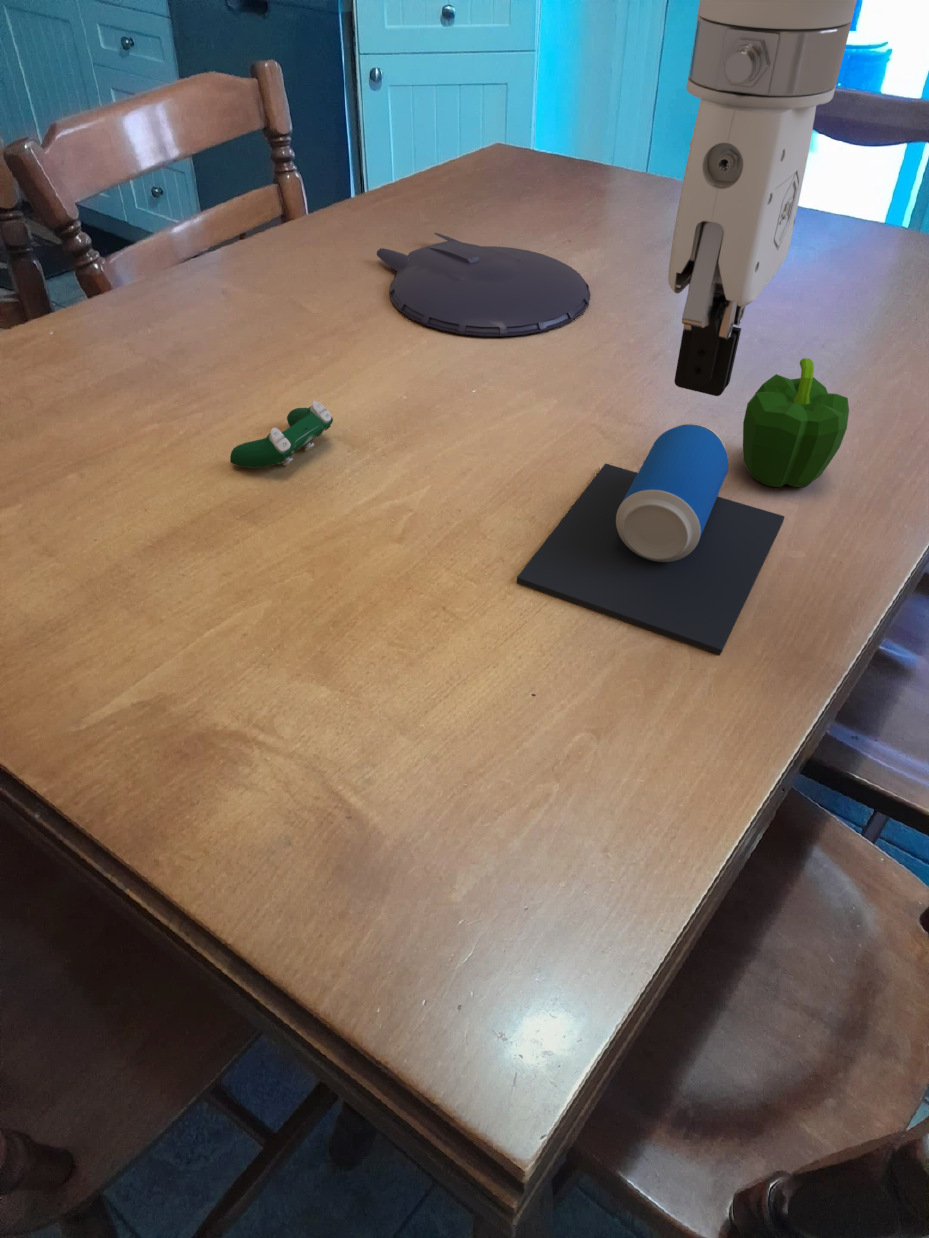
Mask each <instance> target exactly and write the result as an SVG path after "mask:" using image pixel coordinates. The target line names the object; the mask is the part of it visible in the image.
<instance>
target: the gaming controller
mask: <svg viewBox="0 0 929 1238" xmlns="http://www.w3.org/2000/svg"><path fill="white" fill-rule="evenodd" d="M333 421H334V418H333V416H332V414H331V412H330V411H329V410H328V409H326V407H325V406H324V405H323V404H322V403H321V402H319V401H318V400H313V401H312V402H311V406H309V407H297V408H293V409H291V410H290V411H289V412H288V414H287V416H286V422H287V424H288V426H289V427H288V428H286V429H285V430H283V431H281V430H280V429H279V428H278V427H272V428H271V430H270V431H269V433H268V434H267V436H266V437H264V438H261V439H256V440H252V441H251V440H250V441H246V442H244V443H240V444H238V445H236V446H235V447H234V448H233V449H232V450H231V452H230V459H229V461H230V463H231V464H232V465H235V466H238V467H242V468H246V469H247V468H248V469H257V468H258V469H260V468H267V467H272V466H278V465H279V464H282V463H283V464H282V465H283V466H287V465H288V464H290V463H291V462H293V460H294V458H293V457H292V456H293V454H294V453H295V452H296V451H298V450H299V449H301V450H302V449H303V451H306V452H307V451H309V450H310V449H311V448H313V447H314V446H315V442H314V439H315V438H317V437H319V436H321V435H322V434H323V433H324V431H327V430H329V429H330V428H331V425H332V424H333ZM290 457H291V458H290Z"/></svg>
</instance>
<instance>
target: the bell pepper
mask: <svg viewBox="0 0 929 1238" xmlns="http://www.w3.org/2000/svg"><path fill="white" fill-rule="evenodd" d="M799 366H800V369H801V372H800V377H798V378H788V377H785V376H782V375H780V374H777V373H776V374H774V375H773V376H771V377H770V378H769V379H767V380H766V381H765V382H764V383H762V384H761V385H760V387H759V388H758V389H757V391H756V392H755V393H754V395H753V396H752V397H751V398H750V400H749V401H748V402H747V404H746V409H745V413H744V416H743V417H744V418H743V423H742V426H743V427H742V455H743V463H744V466H745V468H746V471H747V472H748V473H749V474H750V476H751V477H752V479H753V480H755V481H757V482H759V483H761V484H763V485H765V486H767V487H775V488H781V487H782V486H785V485H788V486H790V487H793V488H806V487H808V486H809V485H810V484H812V482H815V480H817V479H818V478H820V476H822V474H823V473H824V471H826V469H827V467H828V466H829V465H830V463H831V462H832V460H833V459H834V457H835V455H836V454H837V452H838V451H839V449H840V447H841V445H842V443H843V440H844V437H845V434H846V431H847V429H848V422H849V416H850V415H849V414H850V407H849V398H848V397H846V396H844V395H841V394H838V393H829V392H828V390H827V387H826V386H825V385H823V384H822V383H821V382H820V381H819V380H818V379H816V377H814V372H815V366H814V361H813V360H812V359H810V358H806V357H803V358H801V359H800V361H799Z"/></svg>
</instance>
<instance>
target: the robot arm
mask: <svg viewBox="0 0 929 1238" xmlns="http://www.w3.org/2000/svg"><path fill="white" fill-rule="evenodd" d="M857 1H858V0H698V7H697V15H696V20H695V26H694V34H693V39H692V46H691V53H690V61H689V67H688V74H687V79H686V87H685V89H686V92H687V93H688V94H689V95H691V96H693V97H695V98H698V99H700V101H699V105H698V109H697V113H696V118H695V123H694V126H693V132H692V137H691V139H690V142H689V150H688V154H687V160H686V165H685V169H684V175H683V178H682V179H683V180H682V184H681V189H680V196H679V201H678V206H677V211H676V218H675V224H674V229H673V235H672V242H671V249H670V257H669V265H668V277H667V279H668V280H667V281H668V285H669V287H670V289H671V290H672V291H673V293H675V294H680V293H681V292H683V291H684V289H686V288H687V286H688V290H687V296H686V299H685V303H684V308H683V313H682V318H681V325H682V324H683V328H682V336H681V339H680V346H679V352H678V358H677V364H676V369H675V375H674V380H673V381H674V384H675V386H676V387H677V388H681V389H685V390H690V391H693V392H697V393H701V394H706V395H708V396H709V395H710V396H714V397H720V396H721V395H722V394H723V393H724V391H725V389H726V388H727V387H728V386H729V384H730V382H731V379H732V373H733V369H734V364H735V359H736V355H737V350H738V347H739V346H738V345H739V341H740V337H741V332H742V328H741V327H737V326H740V325H741V323H742V320H743V317H744V314H745V311H746V310H745V309H746V306H748V305H750V304H752V303H753V302H754V301H755V300H756V299H757V298H758V297H759V296H760V295H761V294H762V293H763V291H764V290H765V288H766V287H767V286H768V285H769V284H770V282H771V281H772V280H773V278H774V277H775V275H776V274H777V273H778V271H779V270H780V268H781V267H782V266H783V264H784V262H785V261H786V258H787V256H788V254H789V251H790V247H791V242H792V238H793V232H794V227H795V222H796V219H797V218H796V217H797V212H798V208H799V203H800V199H801V198H800V197H801V193H802V187H803V184H804V179H805V178H804V177H805V173H806V168H807V162H808V158H809V152H810V147H811V141H812V137H813V131H814V124H815V117H816V112H817V111H816V110H817V106H819V105H825V104H827V103H829V102H831V100H833V98H834V95H835V91H836V86H837V84H838V83H837V82H838V79H839V75H840V71H841V66H842V62H843V59H844V55H845V51H846V47H847V43H848V38H849V34H850V30H851V27H852V21H853V18H854V13H855V9H856V5H857Z"/></svg>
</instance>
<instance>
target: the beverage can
mask: <svg viewBox="0 0 929 1238" xmlns="http://www.w3.org/2000/svg"><path fill="white" fill-rule="evenodd" d="M728 471H729V456H728V452H727V449H726V446H725V443H724V441H723V439H722V438H721V436H719V435H718V433H716V431H714V430H713V429H711V428H710V427H707V426H706V425H702V424H700V423H699V424H698V423H682V424H678V425H676V426H674V427H672V428H670V429H668V430H666V431H665V432H663V433H662V434H661V435H659V436H658V437H657V438H656V440H655V441H654V443H653V445H652V446H651V448H650V450H649V452H648V454H647V456H646V457H645V459H644V461H643V463H642V465H641V466H640V468H639V470H638V472H637V473H638V474H637V476H636V477H635V479H634V481H633V483H632V485H631V487H630V488H629V490H628V492H627V494H626V496H625V498H624V499H623V501H622V503H621V505H620V507H619V509H618V511H617V515H616V527H617V530H618V533H619V536H620V537H621V539H622V541H623V542H624V543H625V545H626V546H627V547H628V548H629V549H630V550H632V551H633V552H634V553H636V554H637V555H639V556H641V557H643V558H646V559H648V560H652V561H657V562H671V561H676V560H679V559H682V558H684V557H685V556H687V555H688V554H690V553H691V552H692V551H693V550H694V549H695V547H696V546H697V544H698V542H699V539H700V537H701V534H702V532H703V530H704V527H705V525H706V522H707V520H708V518H709V515H710V513H711V510H712V508H713V505H714V503H715V501H716V498H717V496H718V497H719V493H720V491H721V488H722V487H723V484H724V481H725V479H726V476H727V475H728Z"/></svg>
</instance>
